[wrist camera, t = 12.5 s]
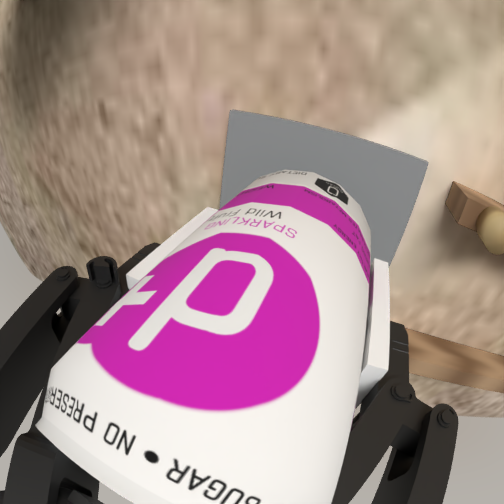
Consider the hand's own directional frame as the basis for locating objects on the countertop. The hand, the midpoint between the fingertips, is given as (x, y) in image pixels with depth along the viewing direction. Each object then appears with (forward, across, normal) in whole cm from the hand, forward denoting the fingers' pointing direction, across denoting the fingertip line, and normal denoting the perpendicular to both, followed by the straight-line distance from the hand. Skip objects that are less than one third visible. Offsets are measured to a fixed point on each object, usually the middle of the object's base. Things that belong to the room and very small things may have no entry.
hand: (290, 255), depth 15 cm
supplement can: (+2, 0, 0) cm, 2 cm away
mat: (+5, 0, 0) cm, 5 cm away
